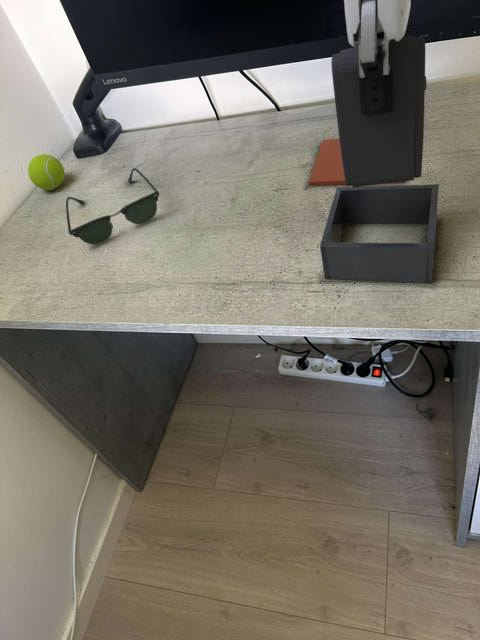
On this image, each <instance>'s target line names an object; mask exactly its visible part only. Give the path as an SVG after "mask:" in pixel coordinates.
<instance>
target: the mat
mask: <svg viewBox="0 0 480 640" xmlns="http://www.w3.org/2000/svg"><path fill="white" fill-rule="evenodd" d="M309 176H310V177H309V178H308V179H309V180H308V186H340V185H341V186H342V185H344V186H346V184H345V177H344V170H343V163H342V156H341V149H340V141H339V138H330V139H329V138H328V139H322V141H321V144H320V148H319V150H318V153H317V156H316V159H315V162H314V165H313V168H312V170H311V173H310V175H309ZM403 183H404V181H403V182H394V183H393V184H403Z"/></svg>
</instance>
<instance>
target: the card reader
mask: <svg viewBox="0 0 480 640" xmlns="http://www.w3.org/2000/svg"><path fill="white" fill-rule="evenodd" d="M425 41H426V40H425V37H424V36H419V37H416V36H415V35H411V36H406V37H402V39H401V40H400V41H397V42H396V40H391V41H390V71H393V100H394V107H393V111H392V112H391V113H383V114H372V115H363V114H362V113H361V102H360V88H359V51H358V46H357V47H356V48H355V47H350V48H346V49H341V50H340V51H339V52H338V53H334V54H332V56H331V61H330V63H331V64H330V65H331V74H332V85H333V94H334V95H333V96H334V103H335V104H334V105H335V113H336V122H337V130H338V139H339V141H340V149H341V156H342V163H343V170H344V177H345V187H363V186H378V185H385V184H386V185H387V184H395V183H394V182H403V183H404V182H411V181H414V180H415V179H418V178H421V177H422V173H423V172H422V171H423V170H422V169H423V154H424V153H423V152H424V131H425V130H424V129H425V96H426V95H425V94H426V93H425V92H426V90H427V86H428V85H427V84H428V83H427V82H428V81H427V76H426V42H425ZM377 53H381V55H382V56H383V47H378V48H377Z"/></svg>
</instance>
